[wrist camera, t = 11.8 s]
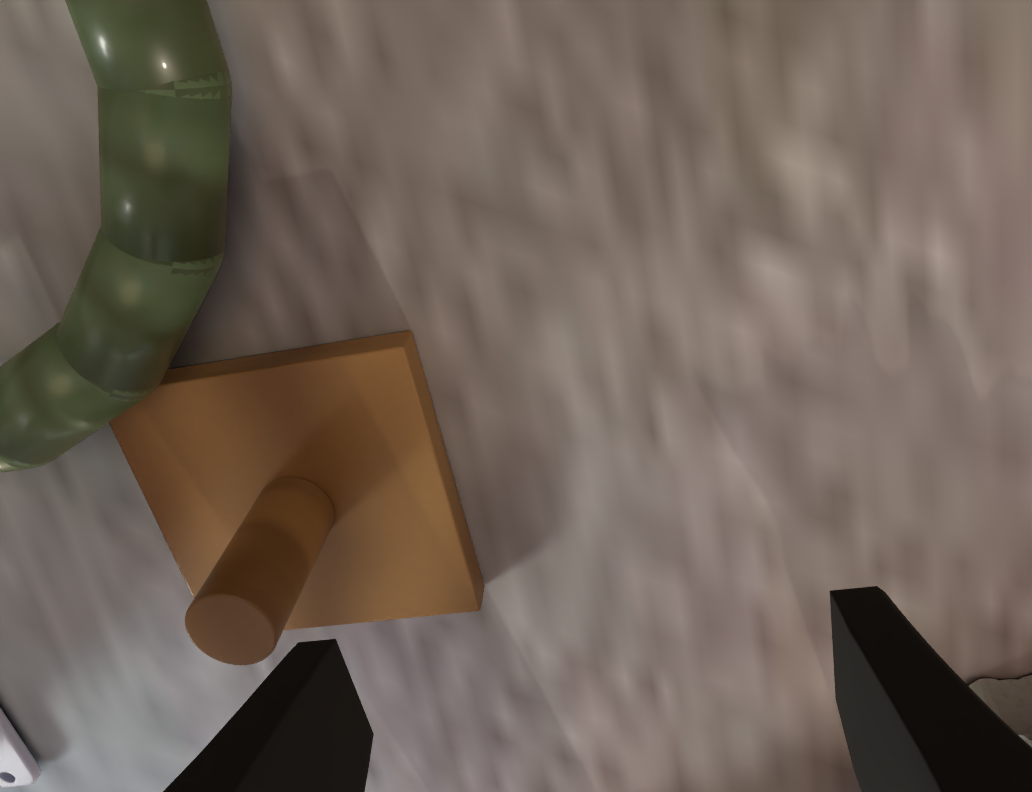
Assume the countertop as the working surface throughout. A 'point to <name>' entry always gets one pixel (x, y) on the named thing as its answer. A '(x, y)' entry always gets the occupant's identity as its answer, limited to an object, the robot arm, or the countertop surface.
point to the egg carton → (1009, 702)
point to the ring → (132, 226)
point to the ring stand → (302, 492)
